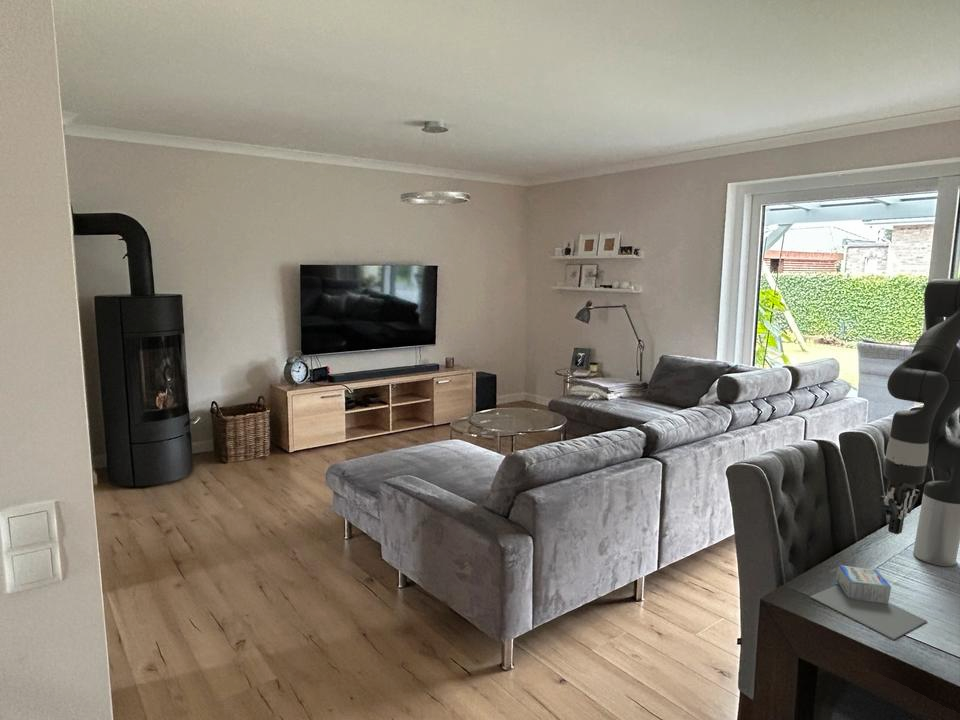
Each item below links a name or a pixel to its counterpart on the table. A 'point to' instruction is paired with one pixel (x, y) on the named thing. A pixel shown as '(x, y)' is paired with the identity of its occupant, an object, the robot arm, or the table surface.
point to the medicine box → (863, 584)
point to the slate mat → (870, 613)
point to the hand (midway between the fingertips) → (894, 532)
